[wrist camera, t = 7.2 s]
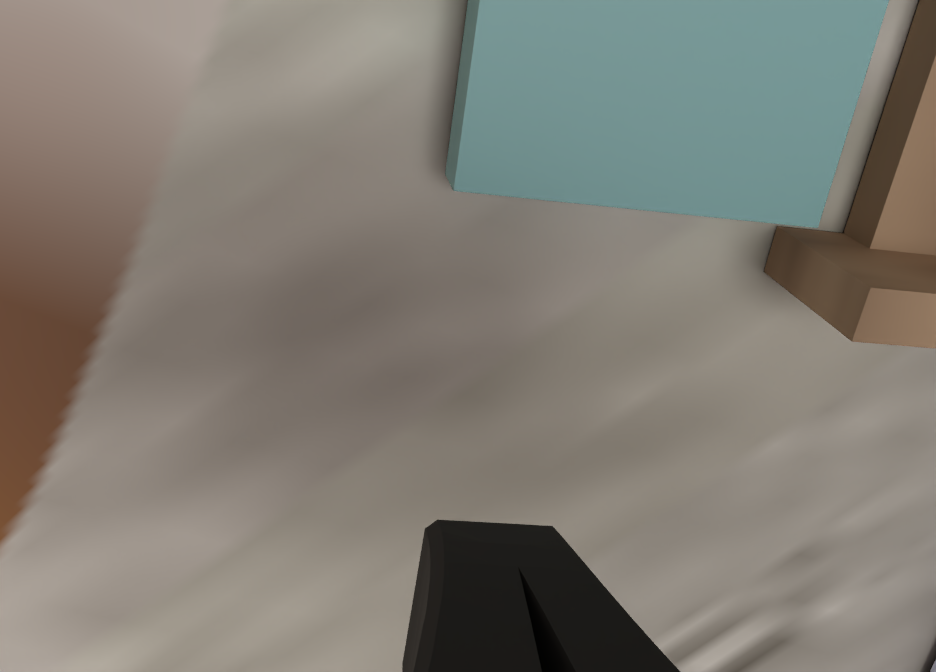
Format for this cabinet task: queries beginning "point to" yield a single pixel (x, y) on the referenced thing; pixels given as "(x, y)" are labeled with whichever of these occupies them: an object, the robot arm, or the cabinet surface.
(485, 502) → the cabinet surface
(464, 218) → the cabinet surface
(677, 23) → the panel
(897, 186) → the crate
